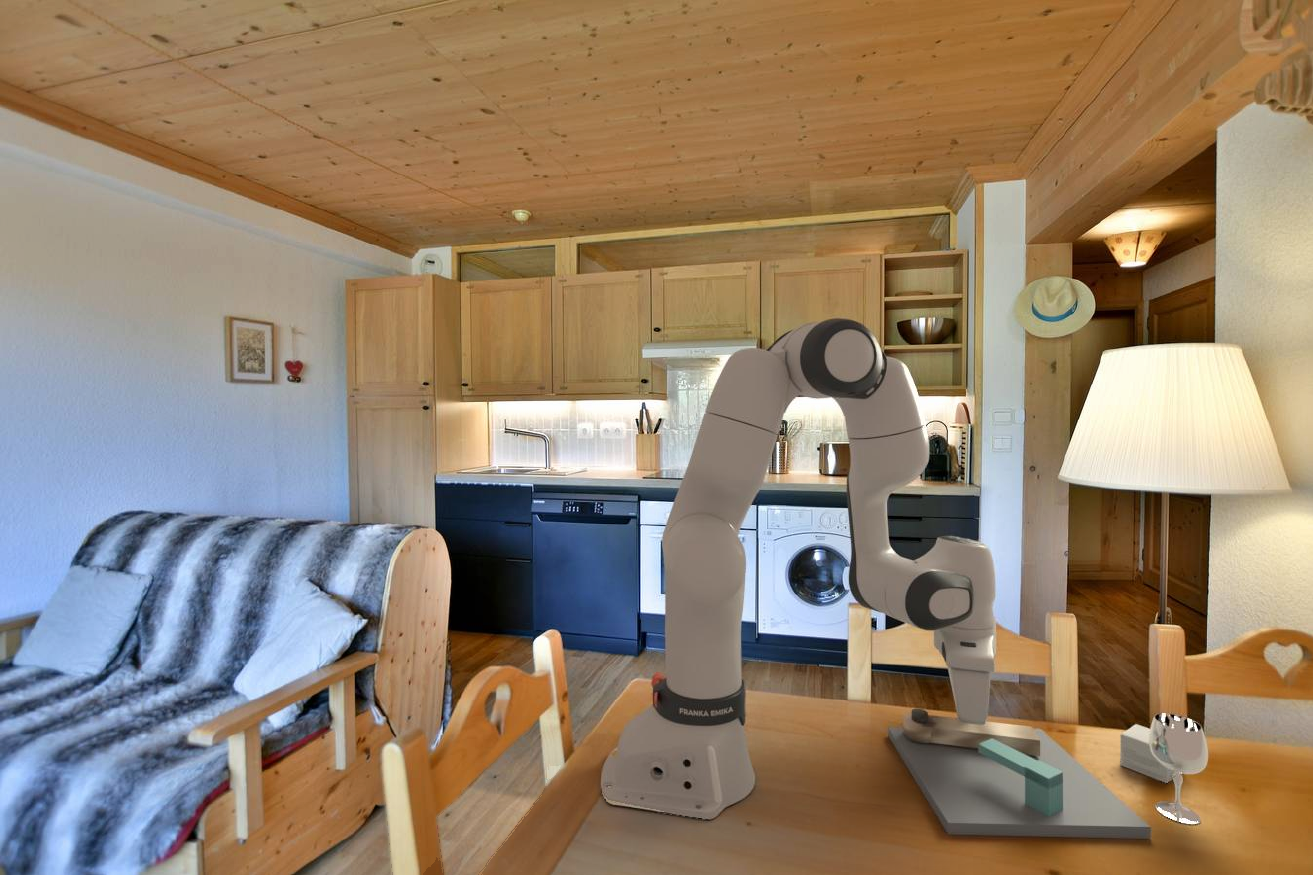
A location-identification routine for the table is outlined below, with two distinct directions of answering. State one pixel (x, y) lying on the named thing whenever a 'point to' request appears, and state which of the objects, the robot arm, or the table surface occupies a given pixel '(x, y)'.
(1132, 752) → the small box
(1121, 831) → the base board
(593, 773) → the table surface
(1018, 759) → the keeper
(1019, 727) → the link
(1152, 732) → the wineglass
